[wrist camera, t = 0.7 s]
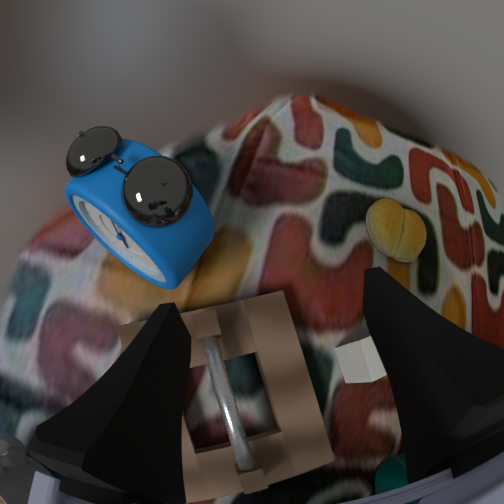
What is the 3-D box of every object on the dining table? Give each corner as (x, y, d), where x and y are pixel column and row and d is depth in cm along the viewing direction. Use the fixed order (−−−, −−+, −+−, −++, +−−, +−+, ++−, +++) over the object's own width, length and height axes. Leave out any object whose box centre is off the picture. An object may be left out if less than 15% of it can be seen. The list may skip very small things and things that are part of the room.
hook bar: (258, 473, 20) (261, 478, 19) (242, 478, 20) (244, 483, 18) (214, 325, 25) (214, 322, 24) (198, 329, 25) (197, 326, 23)
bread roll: (369, 196, 38) (383, 179, 35) (419, 227, 38) (435, 213, 34) (355, 242, 35) (370, 226, 31) (411, 275, 34) (430, 263, 31)
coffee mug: (62, 540, 14) (26, 573, 5) (-3, 492, 14) (-50, 507, 5) (83, 464, 20) (37, 491, 11) (12, 413, 20) (-45, 414, 11)
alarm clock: (90, 239, 30) (35, 149, 16) (125, 200, 32) (93, 99, 19) (181, 306, 28) (159, 237, 15) (215, 259, 31) (225, 163, 18)
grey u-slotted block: (387, 364, 29) (416, 358, 24) (345, 383, 27) (372, 381, 22) (376, 331, 30) (405, 321, 25) (334, 348, 29) (359, 340, 24)
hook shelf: (326, 456, 24) (348, 467, 19) (172, 497, 20) (166, 518, 16) (278, 295, 30) (290, 280, 26) (123, 329, 27) (108, 318, 22)
